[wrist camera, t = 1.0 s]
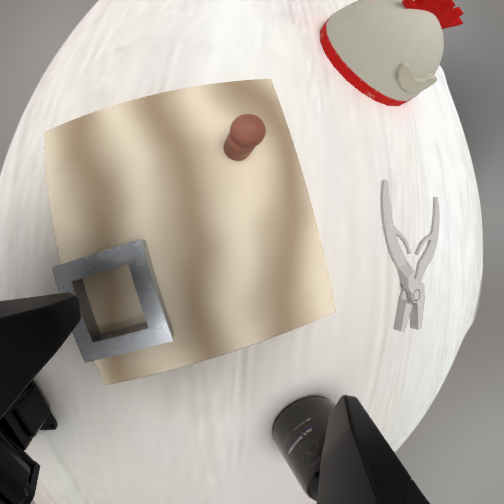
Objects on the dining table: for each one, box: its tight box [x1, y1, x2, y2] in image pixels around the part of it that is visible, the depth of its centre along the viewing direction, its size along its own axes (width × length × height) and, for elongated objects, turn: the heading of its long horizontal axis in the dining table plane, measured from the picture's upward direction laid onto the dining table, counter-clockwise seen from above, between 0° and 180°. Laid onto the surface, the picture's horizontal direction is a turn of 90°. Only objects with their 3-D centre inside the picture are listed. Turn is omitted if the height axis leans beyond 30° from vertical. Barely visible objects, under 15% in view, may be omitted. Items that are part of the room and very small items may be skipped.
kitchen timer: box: [320, 0, 463, 106], centre depth 17 cm, size 14×14×15 cm
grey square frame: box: [53, 239, 174, 363], centre depth 16 cm, size 6×6×2 cm
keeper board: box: [45, 79, 336, 385], centre depth 16 cm, size 19×20×6 cm
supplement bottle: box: [273, 397, 335, 501], centre depth 16 cm, size 7×7×12 cm
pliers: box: [381, 180, 439, 332], centre depth 25 cm, size 10×2×15 cm
